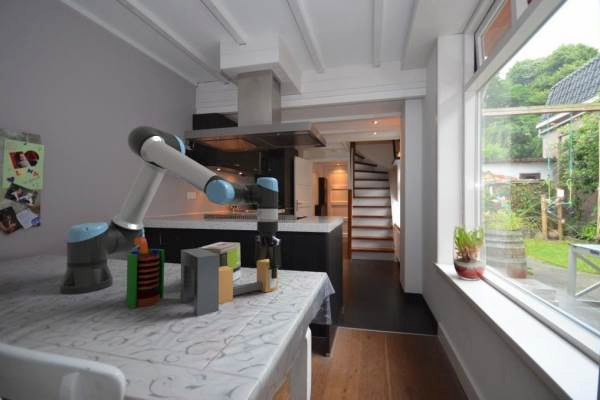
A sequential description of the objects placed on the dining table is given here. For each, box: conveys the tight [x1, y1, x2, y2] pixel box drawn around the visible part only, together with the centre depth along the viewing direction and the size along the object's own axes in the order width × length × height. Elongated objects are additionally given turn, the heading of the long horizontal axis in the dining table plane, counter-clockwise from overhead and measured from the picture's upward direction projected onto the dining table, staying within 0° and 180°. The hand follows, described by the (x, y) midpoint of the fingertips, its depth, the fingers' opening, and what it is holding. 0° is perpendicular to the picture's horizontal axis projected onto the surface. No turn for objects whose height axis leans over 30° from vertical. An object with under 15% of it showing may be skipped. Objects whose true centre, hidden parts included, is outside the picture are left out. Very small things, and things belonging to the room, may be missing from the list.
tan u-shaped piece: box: [219, 258, 279, 305], centre depth 90 cm, size 6×22×10 cm, turn 130°
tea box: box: [199, 241, 242, 282], centre depth 104 cm, size 15×10×15 cm, turn 163°
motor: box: [125, 237, 165, 309], centre depth 83 cm, size 10×9×20 cm
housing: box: [180, 247, 220, 317], centre depth 80 cm, size 15×6×16 cm, turn 40°
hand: (267, 284), depth 96 cm, fingers closed on tan u-shaped piece, 6 cm apart
